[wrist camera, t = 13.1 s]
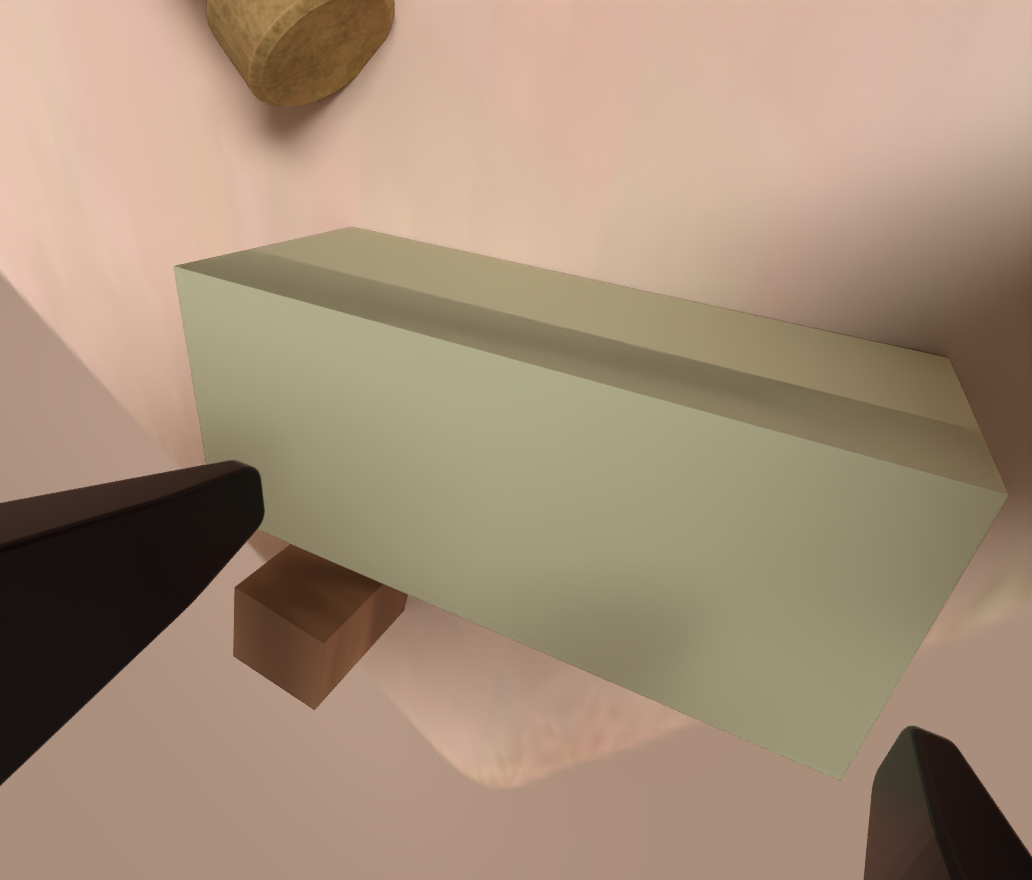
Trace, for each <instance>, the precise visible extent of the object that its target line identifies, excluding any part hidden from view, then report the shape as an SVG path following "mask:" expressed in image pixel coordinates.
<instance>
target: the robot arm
mask: <svg viewBox="0 0 1032 880" xmlns="http://www.w3.org/2000/svg"><path fill="white" fill-rule="evenodd" d="M264 515H265V506H264V498H263V489H262V481H261V475H260V473H259V471H258V469H256V468H255V467H253V466H251V465H248V464H245V463H243V462H240V461H237V460H228V461H223V462H217V463H212V464H207V465H201V466H196V467H191V468H185V469H180V470H175V471H169V472H164V473H158V474H153V475H148V476H142V477H137V478H131V479H126V480H121V481H115V482H110V483H105V484H99V485H94V486H89V487H83V488H79V489H73V490H68V491H62V492H56V493H51V494H46V495H40V496H35V497H30V498H24V499H19V500H14V501H8V502H3V503H0V786H1V785H2V784H3V783H4V782H5V781H6V780H7V779H8V778H9V777H10V776H11V775H12V774H13V773H14V772H15V771H17V770H18V769H19V767H21V766H22V765H23V764H24V763H25V762H26V761H27V760H28V759H29V758H30V757H31V756H32V755H33V754H34V753H35V752H36V751H38V750H39V749H40V748H41V747H42V746H43V745H44V744H45V743H46V742H47V741H48V740H49V739H50V738H51V737H52V736H53V735H54V734H55V733H56V732H57V731H59V730H60V729H61V728H62V727H63V726H64V725H65V724H66V723H67V722H68V721H69V720H70V719H71V718H72V717H73V716H74V715H75V714H76V713H77V712H78V711H79V710H81V709H82V708H83V707H84V706H85V704H87V703H88V702H89V701H90V700H91V699H92V698H93V697H94V696H95V695H96V694H97V693H98V692H99V691H100V690H101V689H103V688H104V687H105V686H106V685H107V684H108V683H109V682H110V681H111V680H112V679H113V678H114V677H115V676H116V675H117V674H118V673H119V672H120V671H122V670H123V668H125V667H126V666H127V665H128V664H129V663H130V662H131V661H132V660H133V659H134V658H135V657H136V656H137V655H138V654H139V653H140V652H141V651H143V649H144V648H146V647H147V646H148V645H149V644H150V643H151V642H152V641H153V640H154V639H155V638H156V637H157V636H158V635H159V634H160V633H161V632H162V631H164V630H165V629H166V628H167V627H168V626H169V625H170V624H171V623H172V622H173V621H174V620H175V619H176V618H177V617H178V616H179V615H180V614H181V613H182V612H183V611H184V610H185V609H186V608H187V607H188V606H189V605H190V604H191V603H192V602H193V601H194V600H195V599H196V598H197V597H198V596H199V595H200V594H201V593H202V592H203V591H204V589H205V588H206V587H207V586H208V585H209V584H210V583H211V581H212V580H213V579H214V578H215V577H216V576H217V575H218V573H219V572H220V571H221V570H222V569H223V568H224V567H225V566H226V564H227V563H228V562H229V561H230V560H231V559H232V558H233V556H234V555H235V554H236V553H237V552H238V551H239V550H240V548H241V547H242V546H243V545H244V544H245V543H246V542H247V540H248V539H249V538H250V537H251V536H252V535H253V534H254V532H255V531H256V530H257V529H258V528H259V526H260V525H261V523H262V521H263V519H264ZM864 880H1032V856H1031V854H1030V853H1029V851H1028V850H1027V848H1026V847H1025V846H1024V844H1023V843H1022V841H1021V840H1020V838H1019V837H1018V835H1017V834H1016V832H1015V831H1014V829H1013V828H1012V826H1011V825H1010V824H1009V822H1008V821H1007V819H1006V818H1005V816H1004V815H1003V813H1002V812H1001V810H1000V809H999V807H998V806H997V805H996V803H995V802H994V800H993V799H992V798H991V796H990V794H989V793H988V791H987V790H986V788H985V787H984V786H983V784H982V783H981V781H980V780H979V778H978V777H977V775H976V774H975V772H974V771H973V770H972V768H971V767H970V765H969V764H968V762H967V761H966V759H965V758H964V756H963V755H962V753H961V752H960V751H959V749H958V748H957V746H956V745H955V744H954V743H953V742H952V741H950V740H948V739H947V738H945V737H942V736H940V735H937V734H934V733H932V732H929V731H927V730H924V729H922V728H919V727H916V726H908V727H906V728H905V729H904V730H903V731H902V732H901V733H900V735H899V736H898V738H897V740H896V741H895V743H894V744H893V746H892V748H891V749H890V751H889V752H888V754H887V756H886V757H885V759H884V760H883V762H882V764H881V765H880V767H879V768H878V770H877V773H876V775H875V779H874V782H873V787H872V794H871V805H870V816H869V827H868V838H867V848H866V860H865V871H864Z"/></svg>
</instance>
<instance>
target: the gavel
mask: <svg viewBox="0 0 1032 880" xmlns="http://www.w3.org/2000/svg"><path fill="white" fill-rule="evenodd" d="M206 13H207V20H208V25H209V27H210V29H211V31H212V33H213V35H214V37H215V38H216V39H217V41H218V42H219V44H220V45H221V47H222V48H223V50H224V51H225V53H226V54H227V56H228V57H229V59H230V60H231V61H232V63H233V64H234V66H235V67H236V69H237V70H238V72H239V73H240V75H241V76H242V78H243V79H244V81H245V82H246V83H247V85H248V86H249V88H250V89H251V91H252V92H253V94H254V95H255V96H256V97H257V98H258V99H259V100H261V101H263V102H265V103H266V104H269V105H274V106H298V105H303V104H308V103H311V102H314V101H317V100H320V99H322V98H324V97H327V96H329V95H331V94H332V93H334V92H336V91H338V90H339V89H341V88H342V87H344V86H345V85H347V84H348V83H349V82H351V81H352V80H353V79H354V78H355V77H356V76H357V75H358V74H359V72H360V71H361V70H362V69H363V67H364V66H365V65H366V64H367V62H368V61H369V60H370V59H371V57H372V56H373V55H374V54H375V52H376V51H377V50H378V49H379V47H380V46H381V45H382V43H383V42H384V41H385V40H386V38H387V36H388V33H389V31H390V28H391V25H392V22H393V18H394V14H395V2H394V0H207V9H206Z"/></svg>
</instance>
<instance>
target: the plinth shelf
mask: <svg viewBox="0 0 1032 880" xmlns="http://www.w3.org/2000/svg"><path fill="white" fill-rule="evenodd" d="M174 272H175V278H176V284H177V290H178V296H179V302H180V308H181V314H182V321H183V327H184V333H185V339H186V345H187V351H188V357H189V363H190V369H191V375H192V381H193V387H194V393H195V399H196V405H197V411H198V417H199V423H200V429H201V435H202V441H203V447H204V453H205V459H206V465H207V464H212V463H217V462H223V461H228V460H237V461H240V462H243V463H245V464H248V465H251V466H253V467H255V468H256V469H258V471H259V473H260V475H261V481H262V489H263V498H264V506H265V515H264V519H263V521H262V523H261V525H260V526H259V528H258V530H260V531H262V532H265V533H267V534H269V535H272V536H274V537H276V538H278V539H281V540H283V541H285V542H288V543H290V544H292V545H295V546H297V547H299V548H302V549H304V550H306V551H309V552H311V553H313V554H316V555H318V556H320V557H322V558H325V559H327V560H329V561H332V562H334V563H336V564H339V565H341V566H343V567H346V568H348V569H350V570H353V571H355V572H357V573H360V574H362V575H364V576H366V577H369V578H371V579H373V580H376V581H378V582H380V583H383V584H385V585H387V586H390V587H392V588H394V589H397V590H399V591H401V592H404V593H406V594H408V595H410V596H413V597H415V598H417V599H420V600H422V601H424V602H427V603H429V604H431V605H434V606H436V607H438V608H441V609H443V610H445V611H448V612H450V613H452V614H454V615H457V616H459V617H461V618H464V619H466V620H468V621H471V622H473V623H475V624H478V625H480V626H482V627H485V628H487V629H489V630H492V631H494V632H496V633H498V634H501V635H503V636H505V637H508V638H510V639H512V640H515V641H517V642H519V643H522V644H524V645H526V646H529V647H531V648H533V649H536V650H538V651H540V652H542V653H545V654H547V655H549V656H552V657H554V658H556V659H559V660H561V661H563V662H566V663H568V664H570V665H573V666H575V667H577V668H580V669H582V670H584V671H586V672H589V673H591V674H593V675H596V676H598V677H600V678H603V679H605V680H607V681H610V682H612V683H614V684H617V685H619V686H621V687H624V688H626V689H628V690H630V691H633V692H635V693H637V694H640V695H642V696H644V697H647V698H649V699H651V700H654V701H656V702H658V703H661V704H663V705H665V706H668V707H670V708H672V709H674V710H677V711H679V712H681V713H684V714H686V715H688V716H691V717H693V718H695V719H698V720H700V721H702V722H705V723H707V724H709V725H712V726H714V727H716V728H718V729H721V730H723V731H726V732H728V733H730V734H732V735H735V736H737V737H739V738H742V739H744V740H746V741H749V742H751V743H753V744H756V745H758V746H760V747H763V748H765V749H767V750H770V751H772V752H774V753H777V754H779V755H781V756H783V757H786V758H788V759H790V760H793V761H795V762H797V763H800V764H802V765H805V766H807V767H809V768H811V769H814V770H816V771H818V772H821V773H823V774H825V775H827V776H830V777H832V778H834V779H837V780H839V781H841V779H842V777H843V776H844V774H845V772H846V771H847V769H848V767H849V766H850V763H851V762H852V760H853V759H854V757H855V755H856V754H857V752H858V750H859V749H860V747H861V745H862V744H863V742H864V740H865V738H866V737H867V735H868V733H869V732H870V730H871V728H872V727H873V725H874V723H875V721H876V720H877V718H878V716H879V715H880V713H881V711H882V710H883V708H884V706H885V704H886V703H887V701H888V699H889V697H890V696H891V694H892V693H893V691H894V689H895V688H896V686H897V684H898V682H899V681H900V679H901V677H902V676H903V674H904V672H905V671H906V669H907V667H908V665H909V664H910V662H911V660H912V659H913V657H914V655H915V654H916V652H917V650H918V648H919V647H920V645H921V643H922V642H923V640H924V638H925V637H926V635H927V633H928V631H929V630H930V628H931V626H932V625H933V623H934V621H935V620H936V618H937V616H938V615H939V613H940V611H941V609H942V608H943V606H944V604H945V603H946V601H947V599H948V598H949V596H950V594H951V592H952V591H953V589H954V587H955V586H956V584H957V582H958V581H959V579H960V577H961V575H962V574H963V572H964V570H965V569H966V567H967V565H968V564H969V562H970V560H971V558H972V557H973V555H974V553H975V552H976V550H977V548H978V547H979V545H980V543H981V542H982V540H983V538H984V536H985V535H986V533H987V531H988V530H989V528H990V526H991V525H992V523H993V521H994V519H995V518H996V516H997V514H998V513H999V511H1000V509H1001V508H1002V506H1003V504H1004V502H1005V501H1006V499H1007V497H1008V496H1009V494H1008V492H1007V490H1006V487H1005V485H1004V483H1003V480H1002V478H1001V476H1000V474H999V471H998V469H997V467H996V464H995V462H994V460H993V457H992V455H991V453H990V451H989V448H988V446H987V444H986V441H985V439H984V437H983V435H982V432H981V430H980V428H979V425H978V423H977V421H976V419H975V416H974V414H973V412H972V409H971V407H970V405H969V402H968V400H967V398H966V396H965V393H964V391H963V389H962V386H961V384H960V382H959V380H958V377H957V375H956V373H955V370H954V368H953V366H952V363H951V361H950V359H949V358H947V357H943V356H938V355H933V354H929V353H924V352H920V351H915V350H911V349H906V348H902V347H897V346H892V345H888V344H883V343H879V342H874V341H870V340H865V339H861V338H856V337H851V336H847V335H842V334H838V333H833V332H829V331H824V330H819V329H815V328H810V327H806V326H801V325H797V324H792V323H788V322H783V321H778V320H774V319H769V318H765V317H760V316H756V315H751V314H747V313H742V312H737V311H733V310H728V309H724V308H719V307H715V306H710V305H706V304H701V303H696V302H692V301H687V300H683V299H678V298H674V297H669V296H664V295H660V294H655V293H651V292H646V291H642V290H637V289H633V288H628V287H623V286H619V285H614V284H610V283H605V282H601V281H596V280H592V279H587V278H582V277H578V276H573V275H569V274H564V273H560V272H555V271H551V270H546V269H541V268H537V267H532V266H528V265H523V264H519V263H514V262H509V261H505V260H500V259H496V258H491V257H487V256H482V255H478V254H473V253H468V252H464V251H459V250H455V249H450V248H446V247H441V246H437V245H432V244H427V243H423V242H418V241H414V240H409V239H405V238H400V237H395V236H391V235H386V234H382V233H377V232H373V231H368V230H364V229H359V228H354V227H348V228H343V229H339V230H334V231H330V232H325V233H321V234H316V235H312V236H307V237H303V238H298V239H294V240H289V241H285V242H280V243H276V244H271V245H267V246H262V247H258V248H253V249H249V250H244V251H240V252H235V253H231V254H226V255H222V256H217V257H213V258H208V259H204V260H199V261H195V262H190V263H186V264H181V265H177V266H174Z"/></svg>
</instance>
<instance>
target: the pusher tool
mask: <svg viewBox="0 0 1032 880" xmlns="http://www.w3.org/2000/svg"><path fill="white" fill-rule="evenodd" d="M407 595H408V594H406V593H404V592H401V591H399V590H397V589H394V588H392V587H390V586H387V585H385V584H383V583H380V582H378V581H376V580H373V579H371V578H369V577H366V576H364V575H362V574H360V573H357V572H355V571H353V570H350V569H348V568H346V567H343V566H341V565H339V564H336V563H334V562H332V561H329V560H327V559H325V558H322V557H320V556H318V555H316V554H313V553H311V552H309V551H306V550H304V549H302V548H299V547H297V546H295V545H292V544H290V545H289V546H288V547H286V548H285V549H284V550H282V551H281V552H280V553H279V554H277V555H276V556H275V557H273V558H272V559H271V560H269V561H268V562H267V563H266V564H264V565H263V566H262V567H260V568H259V569H258V570H256V571H255V572H254V573H253V574H251V575H250V576H249V577H248V578H246V579H245V580H244V581H242V582H241V583H240V584H238V585H237V586H236V587H235V598H234V601H235V602H234V649H233V652H234V653H233V654H234V655H233V656H234V657H236V658H237V659H238V660H240V661H241V662H243V663H244V664H246V665H248V666H249V667H251V668H252V669H253V670H255V671H257V672H258V673H259V674H261V675H262V676H264V677H265V678H267V679H268V680H270V681H272V682H273V683H275V684H276V685H278V686H279V687H281V688H282V689H284V690H285V691H287V692H288V693H290V694H291V695H293V696H294V697H296V698H297V699H299V700H300V701H302V702H303V703H305V704H306V705H308V706H309V707H311V708H312V709H314V710H315V709H316V708H317V707H318V706H319V705H320V703H321V702H322V701H323V700H324V699H325V698H326V697H327V695H328V694H329V693H330V692H331V691H332V690H333V689H334V688H335V687H336V686H337V684H338V683H339V682H340V681H341V680H342V679H343V678H344V677H345V675H346V674H347V673H348V672H349V671H350V670H351V668H352V667H353V666H354V665H355V664H356V663H357V662H358V661H359V660H360V659H361V658H362V656H363V655H364V654H365V653H366V652H367V651H368V650H369V649H370V648H371V646H372V645H373V644H374V643H375V642H376V641H377V640H378V639H379V637H380V636H381V635H382V634H383V633H384V632H385V631H386V630H387V629H388V627H389V626H390V625H391V624H392V623H393V622H394V621H395V620H396V618H397V617H398V616H399V615H400V614H401V613H402V612H403V611H404V607H405V603H406V599H407Z"/></svg>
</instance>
